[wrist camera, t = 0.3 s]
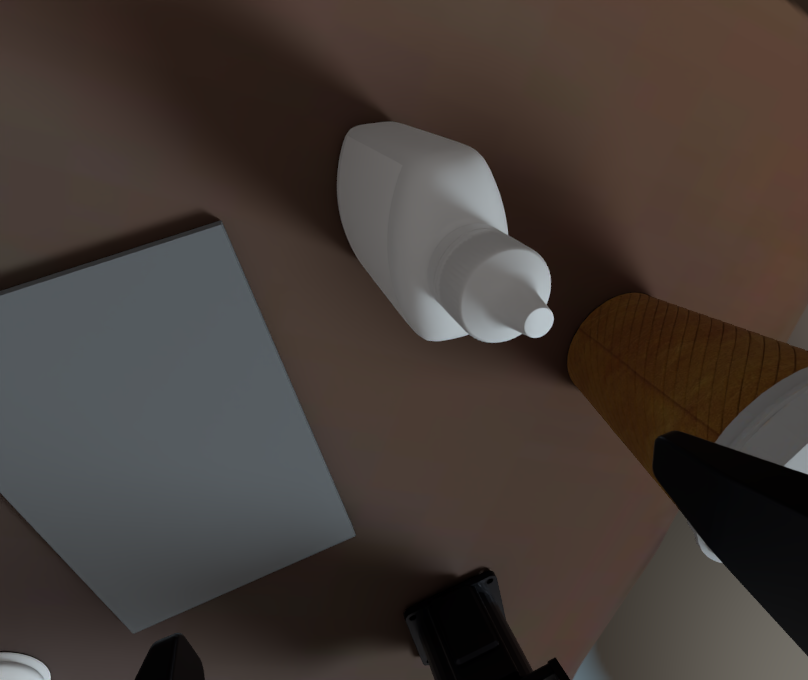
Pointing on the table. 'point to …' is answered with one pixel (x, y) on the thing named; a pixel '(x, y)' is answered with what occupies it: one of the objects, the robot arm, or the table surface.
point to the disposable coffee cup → (691, 382)
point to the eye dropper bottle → (438, 236)
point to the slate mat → (158, 428)
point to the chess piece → (22, 667)
